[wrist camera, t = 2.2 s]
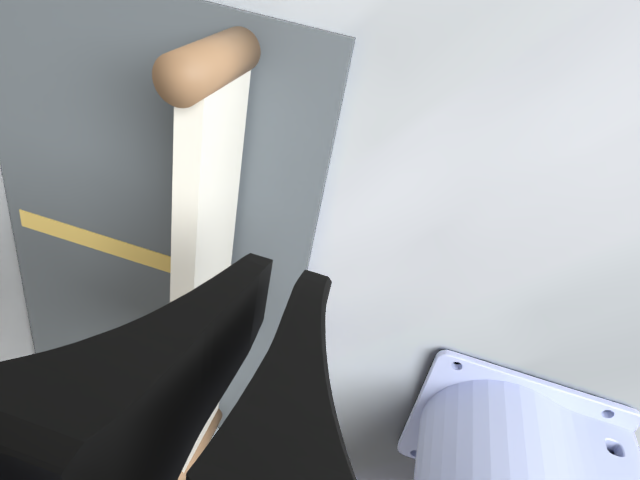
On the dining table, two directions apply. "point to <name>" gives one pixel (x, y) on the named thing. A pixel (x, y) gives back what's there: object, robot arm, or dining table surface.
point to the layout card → (150, 157)
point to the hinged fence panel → (206, 148)
